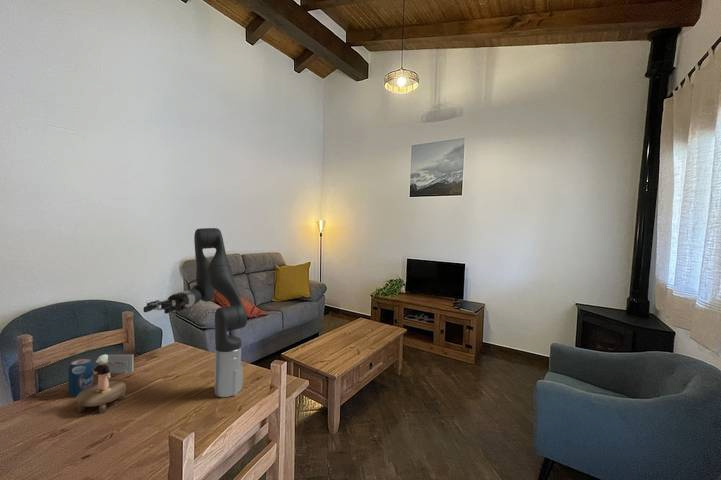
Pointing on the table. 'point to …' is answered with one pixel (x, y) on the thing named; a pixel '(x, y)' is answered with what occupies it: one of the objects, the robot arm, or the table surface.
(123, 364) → the cassette
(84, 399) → the beige footstool
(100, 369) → the grandmother figurine
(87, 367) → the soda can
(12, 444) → the table surface
